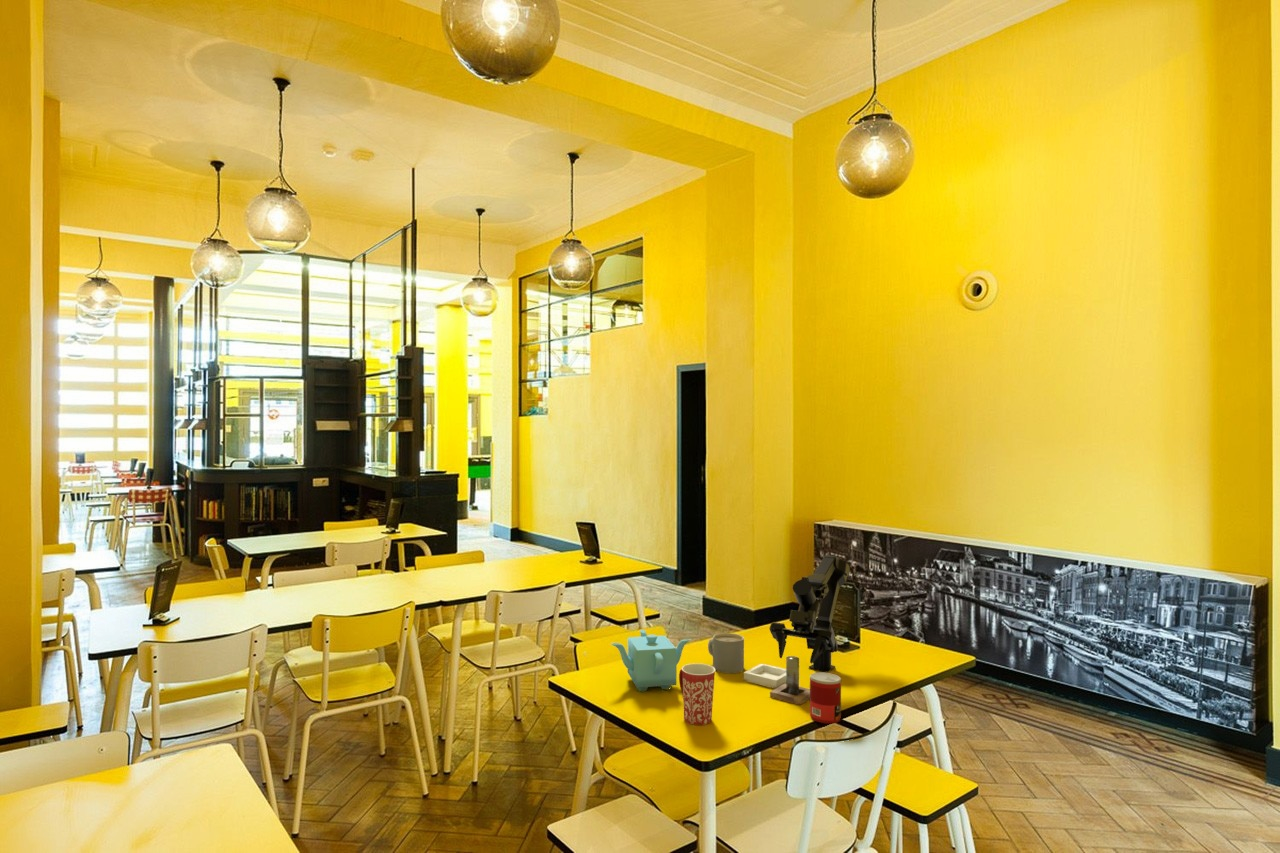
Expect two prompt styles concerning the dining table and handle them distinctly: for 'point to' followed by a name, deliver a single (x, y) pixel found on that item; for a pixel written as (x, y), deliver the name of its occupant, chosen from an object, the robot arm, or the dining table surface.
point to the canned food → (825, 697)
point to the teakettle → (651, 660)
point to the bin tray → (766, 675)
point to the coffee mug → (727, 652)
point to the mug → (697, 692)
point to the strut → (792, 675)
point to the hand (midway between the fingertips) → (795, 660)
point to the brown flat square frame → (782, 695)
